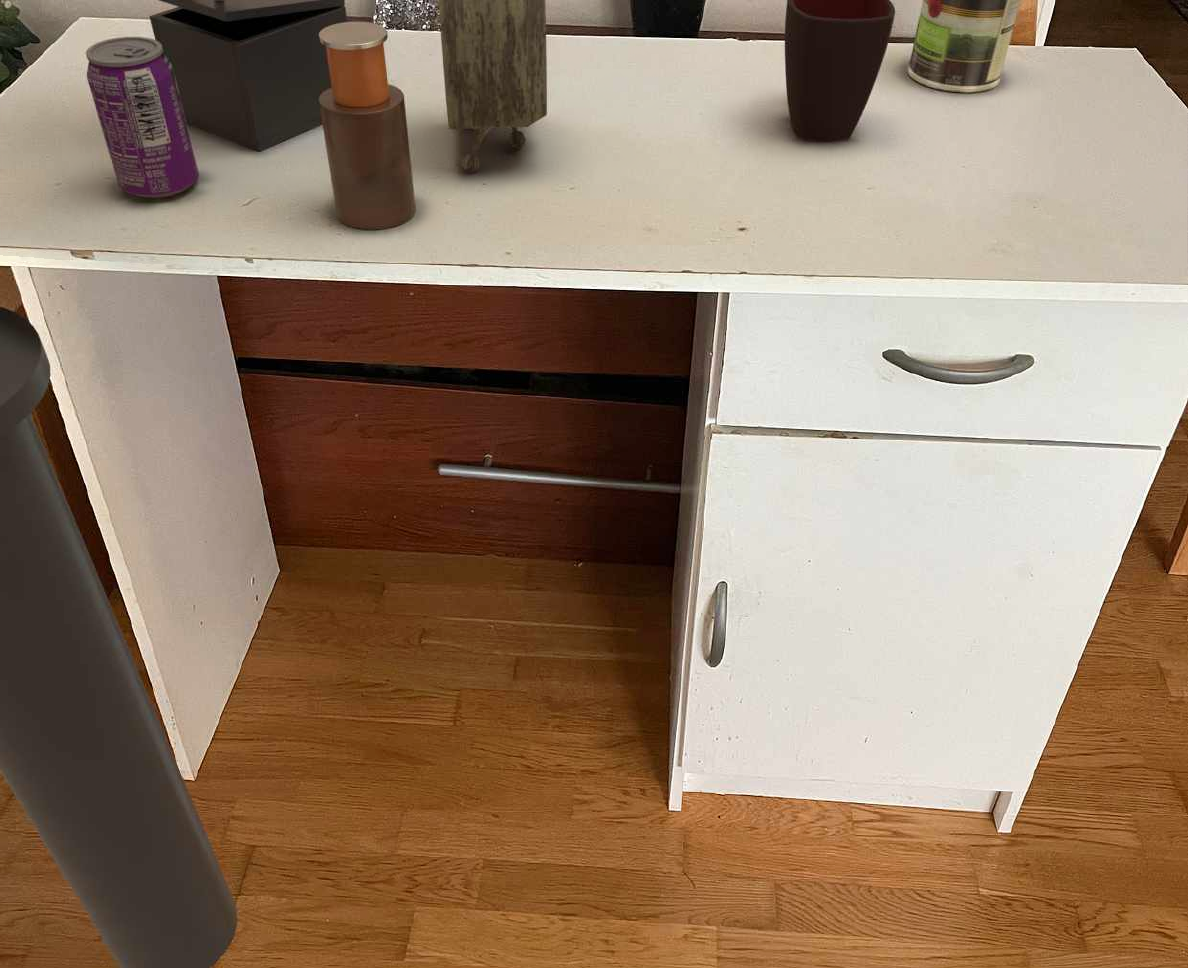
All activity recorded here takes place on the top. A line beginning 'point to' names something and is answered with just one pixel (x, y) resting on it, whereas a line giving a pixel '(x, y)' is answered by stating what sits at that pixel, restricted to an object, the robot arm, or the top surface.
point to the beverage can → (141, 116)
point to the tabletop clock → (493, 67)
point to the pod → (356, 63)
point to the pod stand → (369, 161)
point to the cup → (833, 62)
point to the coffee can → (962, 43)
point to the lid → (251, 7)
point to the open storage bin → (249, 71)
